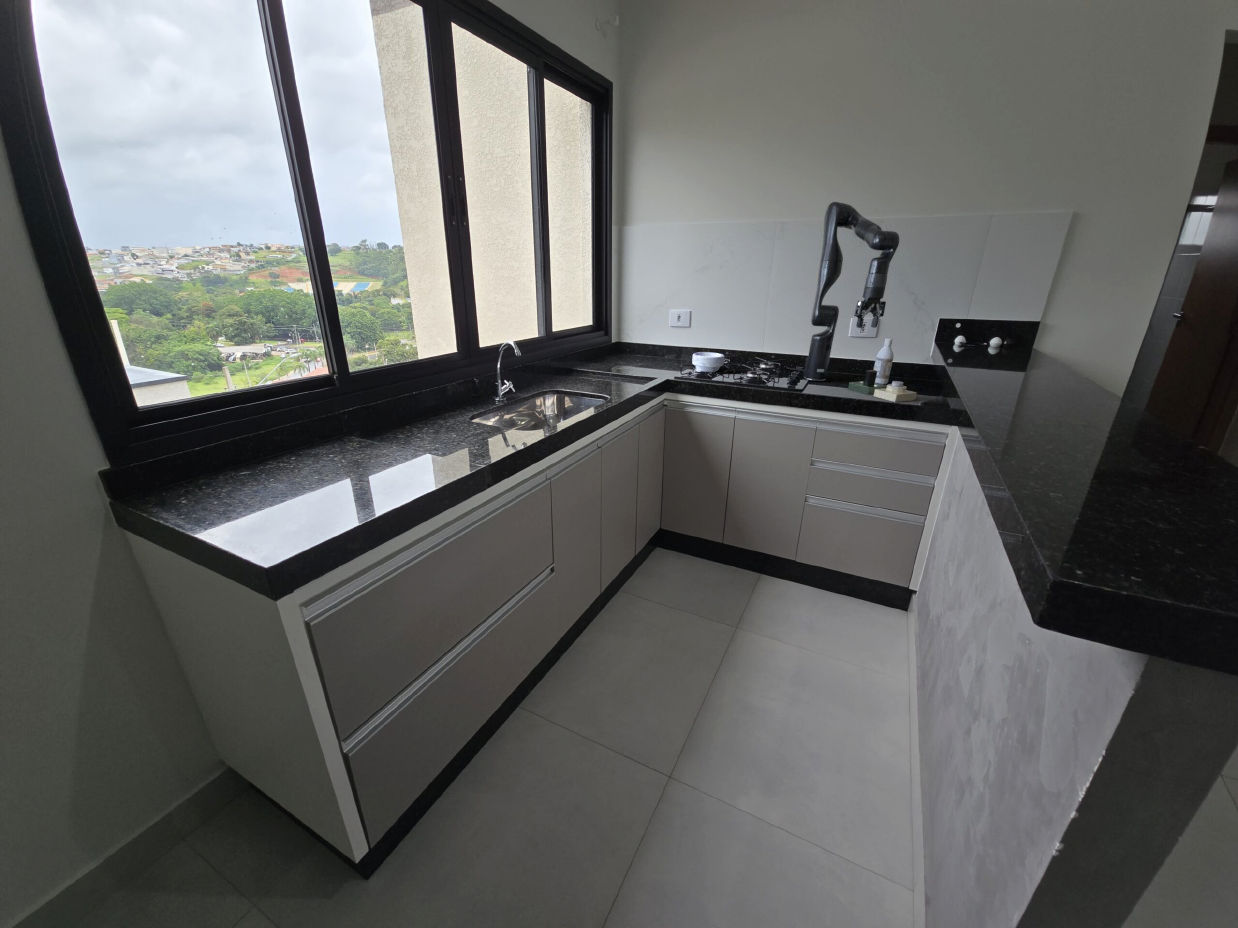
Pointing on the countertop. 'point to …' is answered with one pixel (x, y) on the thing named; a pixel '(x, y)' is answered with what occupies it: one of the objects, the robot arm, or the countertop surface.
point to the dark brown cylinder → (870, 377)
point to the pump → (897, 384)
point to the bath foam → (884, 362)
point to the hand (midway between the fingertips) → (866, 327)
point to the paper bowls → (708, 361)
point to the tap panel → (865, 387)
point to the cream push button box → (895, 393)
